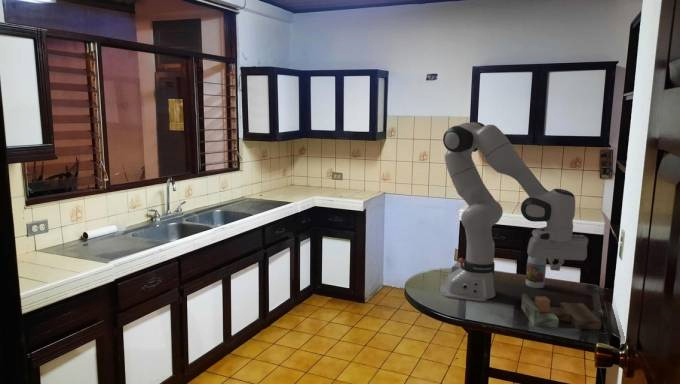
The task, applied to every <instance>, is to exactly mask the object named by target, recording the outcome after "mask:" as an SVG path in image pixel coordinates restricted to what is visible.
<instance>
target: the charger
mask: <svg viewBox="0 0 680 384" xmlns="http://www.w3.org/2000/svg"><path fill="white" fill-rule="evenodd" d="M460 267H461V263H459V260H458V261H456V262H455V263H454V264H453V265H452V267H451V272H450V274H451V273H452V272H454V271H456V270H457V269H459V268H460Z"/></svg>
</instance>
